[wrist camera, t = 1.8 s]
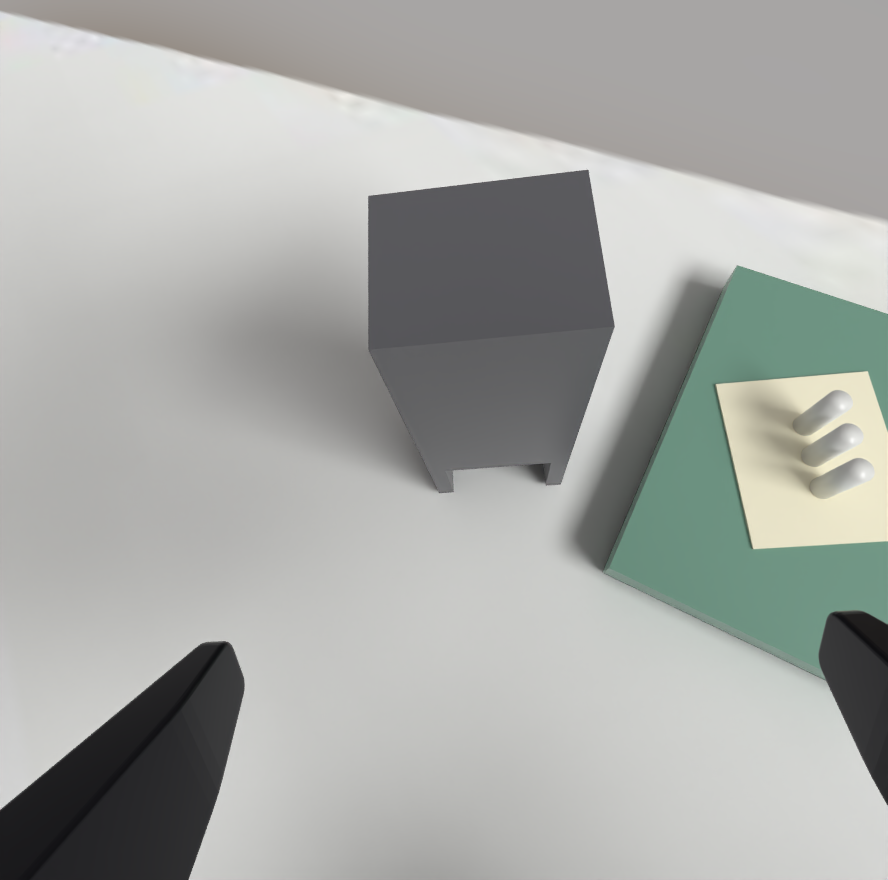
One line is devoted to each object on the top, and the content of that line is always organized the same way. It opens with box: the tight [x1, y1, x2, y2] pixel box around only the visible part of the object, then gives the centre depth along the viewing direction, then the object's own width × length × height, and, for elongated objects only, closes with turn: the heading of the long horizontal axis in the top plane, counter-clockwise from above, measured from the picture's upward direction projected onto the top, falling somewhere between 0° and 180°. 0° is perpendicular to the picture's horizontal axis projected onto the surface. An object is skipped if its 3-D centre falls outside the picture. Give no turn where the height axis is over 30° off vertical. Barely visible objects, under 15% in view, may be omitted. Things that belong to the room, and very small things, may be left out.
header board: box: [603, 265, 888, 680], centre depth 20 cm, size 14×10×4 cm
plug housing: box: [368, 170, 615, 493], centre depth 18 cm, size 4×5×12 cm
